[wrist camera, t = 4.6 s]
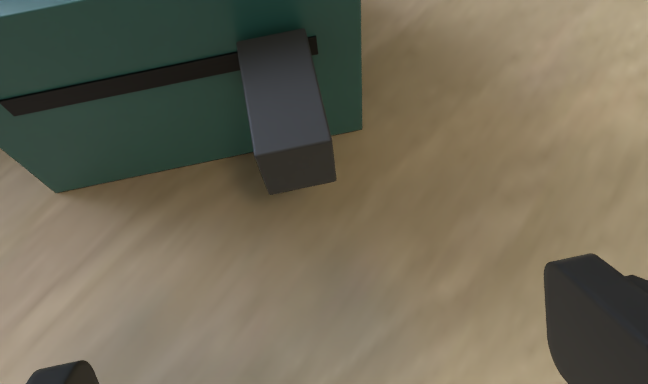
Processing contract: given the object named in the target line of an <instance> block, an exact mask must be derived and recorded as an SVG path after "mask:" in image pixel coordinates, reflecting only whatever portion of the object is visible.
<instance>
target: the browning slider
mask: <svg viewBox="0 0 648 384" xmlns="http://www.w3.org/2000/svg"><path fill="white" fill-rule="evenodd" d="M236 46H237V52H238V59H239V65H240V71H241V77H242V84H243V90H244V96H245V102H246V108H247V115H248V121H249V127H250V133H251V140H252V146H253V152H254V157H255V160H256V162H257V165H258V167H259V170H260V172H261V175H262V178H263V180H264V183H265V185H266V188H267V190H268V193H269V194H270V195H273V194H277V193H282V192H287V191H292V190H296V189H301V188H306V187H311V186H315V185H320V184H325V183H330V182H334V181H336V171H335V162H334V154H333V145H332V138H331V134H330V130H329V125H328V121H327V117H326V113H325V109H324V105H323V100H322V96H321V92H320V88H319V84H318V80H317V75H316V71H315V67H314V63H313V59H312V55H311V50H310V46H309V42H308V38H307V34H306V30H305V29H304V28H301V29H296V30H291V31H286V32H282V33H277V34H272V35H267V36H262V37H257V38H252V39H247V40H242V41H238V42H237V43H236Z"/></svg>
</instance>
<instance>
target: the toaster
mask: <svg viewBox="0 0 648 384" xmlns="http://www.w3.org/2000/svg"><path fill="white" fill-rule="evenodd" d="M301 28H304V29H305V30H306V34H307V37H310V36H315V35H316V38H317V46H318V54H317V55H312V59H313V63H314V67H315V71H316V75H317V80H318V84H319V88H320V92H321V96H322V100H323V105H324V109H325V113H326V117H327V121H328V125H329V130H330V134H331V136H332V135H337V134H342V133H346V132H351V131H356V130H361V129H362V63H361V0H0V100H2V99H7V98H12V97H17V96H21V95H26V94H31V93H36V92H41V91H46V90H51V89H56V88H61V87H66V86H70V85H75V84H80V83H85V82H90V81H95V80H100V79H105V78H110V77H115V76H119V75H124V74H129V73H134V72H139V71H144V70H149V69H154V68H159V67H163V66H168V65H173V64H178V63H183V62H188V61H193V60H198V59H203V58H208V57H212V56H217V55H222V54H227V53H232V52H237V46H236V43H237V42H238V41H242V40H247V39H252V38H257V37H262V36H267V35H272V34H277V33H282V32H286V31H291V30H296V29H301ZM0 148H1V149H2V150H3V151H5V152H6V153H7V154H8V155H9V156H11V157H12V158H13V159H14V160H16V161H17V162H18V163H19V164H21V165H22V166H23V167H24V168H25V169H27V170H28V171H29V172H30V173H32V174H33V175H34V176H35V177H37V178H38V179H39V180H40V181H41V182H43V183H44V184H45V185H46V186H48V187H49V188H50V189H51V190H53V191H54V192H55V193H58V192H63V191H68V190H73V189H77V188H82V187H87V186H92V185H97V184H101V183H106V182H111V181H116V180H121V179H125V178H130V177H135V176H140V175H145V174H149V173H154V172H159V171H164V170H169V169H173V168H178V167H183V166H188V165H193V164H197V163H202V162H207V161H212V160H217V159H221V158H226V157H231V156H236V155H241V154H245V153H250V152H253V146H252V140H251V133H250V127H249V121H248V115H247V108H246V102H245V96H244V90H243V84H242V77H241V71H240V70H239V71H234V72H229V73H224V74H220V75H215V76H210V77H205V78H200V79H195V80H190V81H185V82H181V83H176V84H171V85H166V86H161V87H156V88H151V89H146V90H142V91H137V92H132V93H127V94H122V95H117V96H112V97H107V98H102V99H98V100H93V101H88V102H83V103H78V104H73V105H68V106H63V107H59V108H54V109H49V110H44V111H39V112H34V113H29V114H24V115H20V116H15V117H14V116H13V115H12V114H11V113H10V112H9V111H7V110H6V109H5V108H4V107H3V106H2V105H1V104H0Z"/></svg>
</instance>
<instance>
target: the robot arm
mask: <svg viewBox="0 0 648 384" xmlns="http://www.w3.org/2000/svg"><path fill="white" fill-rule="evenodd" d="M544 289H545V306H546V324H547V339H548V345H549V349H550V353H551V356H552V358H553V361H554V363H555V365H556V367H557V369H558V371H559V372H560V374H561V375H562V377H563V378H564V379H565V381H566V382H567V383H568V384H648V280H645V279H642V278H640V277H637V276H634V275H629V276H624V275H622V274H621V273H620V272H618V271H617V270H616V269H614V268H613V267H612V266H610V265H609V264H608V263H606V262H605V261H604V260H602V259H601V258H600V257H598V256H597V255H595V254H585V255H581V256H576V257H571V258H566V259H562V260H557V261H552V262H549V263H547V264H546V266H545V269H544ZM26 384H99V382H98V380H97V377H96V375H95V372H94V370H93V368H92V367H91V365H90V364H89V363H88V362H86V361H84V360H81V361H76V362H71V363H67V364H62V365H57V366H53V367H48V368H43V369H39V370H37V371H35V372H34V373H33V374H32V376H31V377H30V378H29V380H28V381H27V383H26Z"/></svg>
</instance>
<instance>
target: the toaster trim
mask: <svg viewBox="0 0 648 384" xmlns="http://www.w3.org/2000/svg"><path fill="white" fill-rule="evenodd" d="M307 38H308V42H309V46H310V50H311V55H317V54H318V46H317V38H316V35H315V36H310V37H307ZM239 70H240V65H239V59H238V52H232V53H227V54H222V55H217V56H212V57H208V58H203V59H198V60H193V61H188V62H183V63H178V64H173V65H168V66H163V67H159V68H154V69H149V70H144V71H139V72H134V73H129V74H124V75H119V76H115V77H110V78H105V79H100V80H95V81H90V82H85V83H80V84H75V85H70V86H66V87H61V88H56V89H51V90H46V91H41V92H36V93H31V94H26V95H21V96H17V97H12V98H7V99H2V100H0V104H1V105H2V106H3V107H4V108H5V109H6V110H7V111H9V112H10V113H11V114H12V115H13V116H14V117H15V116H20V115H24V114H29V113H34V112H39V111H44V110H49V109H54V108H59V107H63V106H68V105H73V104H78V103H83V102H88V101H93V100H98V99H102V98H107V97H112V96H117V95H122V94H127V93H132V92H137V91H142V90H146V89H151V88H156V87H161V86H166V85H171V84H176V83H181V82H185V81H190V80H195V79H200V78H205V77H210V76H215V75H220V74H224V73H229V72H234V71H239Z"/></svg>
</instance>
